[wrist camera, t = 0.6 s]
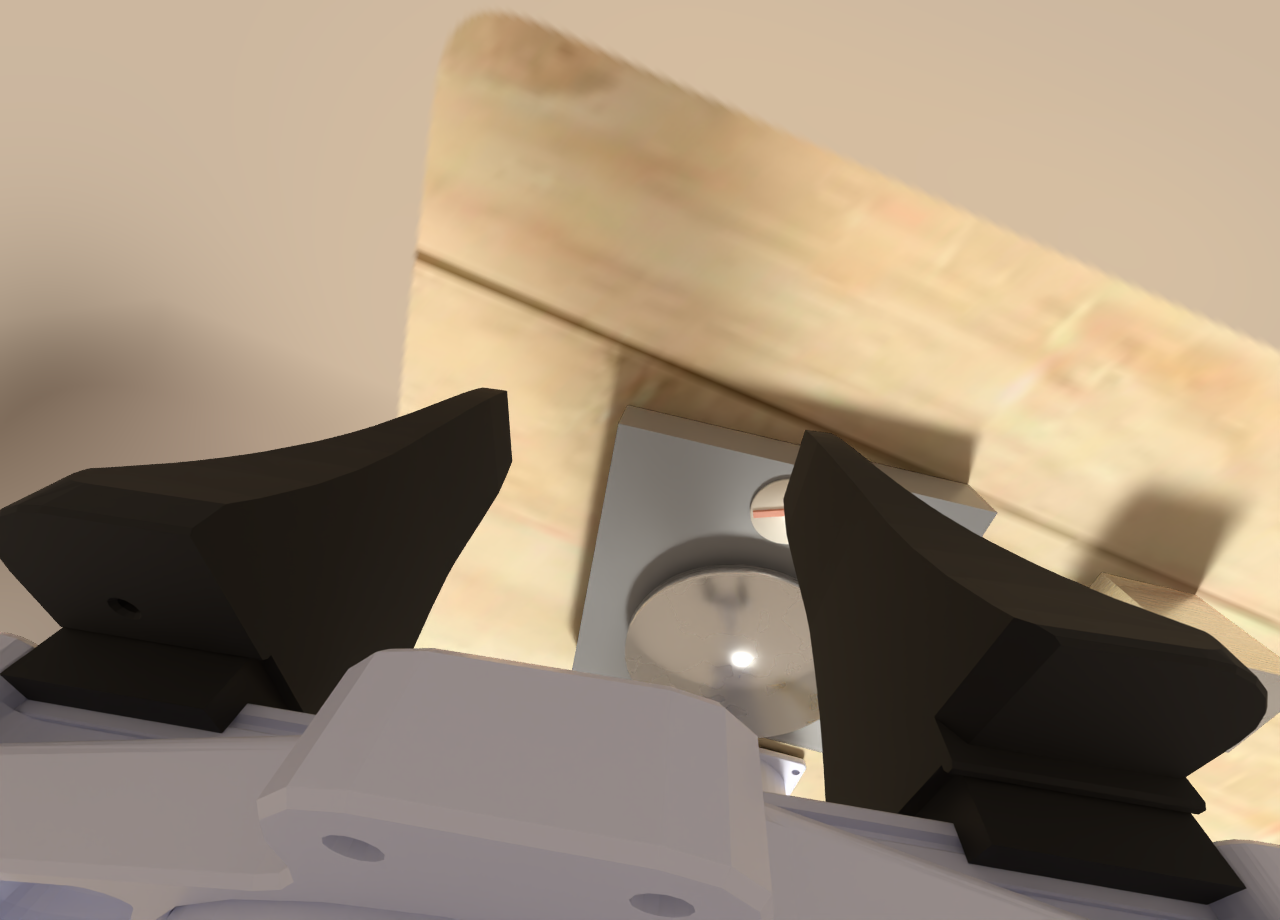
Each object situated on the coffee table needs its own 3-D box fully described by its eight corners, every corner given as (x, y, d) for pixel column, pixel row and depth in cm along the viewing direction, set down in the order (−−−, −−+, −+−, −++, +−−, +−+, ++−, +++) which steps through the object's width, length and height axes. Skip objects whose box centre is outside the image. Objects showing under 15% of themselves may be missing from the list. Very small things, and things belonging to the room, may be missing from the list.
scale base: (829, 718, 29) (840, 762, 26) (579, 654, 30) (567, 692, 27) (968, 484, 21) (1002, 517, 19) (627, 405, 22) (617, 426, 19)
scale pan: (803, 744, 26) (806, 759, 25) (611, 695, 26) (608, 708, 26) (889, 597, 21) (895, 610, 20) (650, 539, 21) (648, 549, 21)
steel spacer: (1132, 657, 24) (1228, 752, 20) (1047, 636, 24) (1122, 726, 20) (1193, 593, 22) (1315, 684, 18) (1100, 571, 22) (1198, 655, 18)
